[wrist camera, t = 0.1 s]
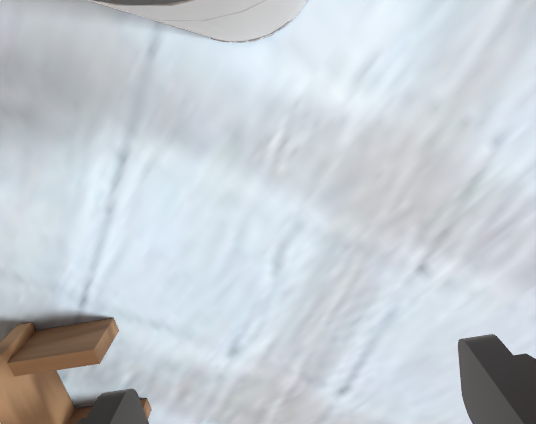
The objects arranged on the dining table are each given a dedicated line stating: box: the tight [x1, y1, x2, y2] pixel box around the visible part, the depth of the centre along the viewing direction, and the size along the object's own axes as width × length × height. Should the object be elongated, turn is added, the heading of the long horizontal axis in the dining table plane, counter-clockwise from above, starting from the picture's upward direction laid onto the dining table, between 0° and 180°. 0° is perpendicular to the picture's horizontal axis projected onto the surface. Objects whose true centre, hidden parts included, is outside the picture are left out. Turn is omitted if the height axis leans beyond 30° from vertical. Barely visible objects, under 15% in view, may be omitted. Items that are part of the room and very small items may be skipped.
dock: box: [0, 318, 151, 424], centre depth 30 cm, size 11×8×5 cm
